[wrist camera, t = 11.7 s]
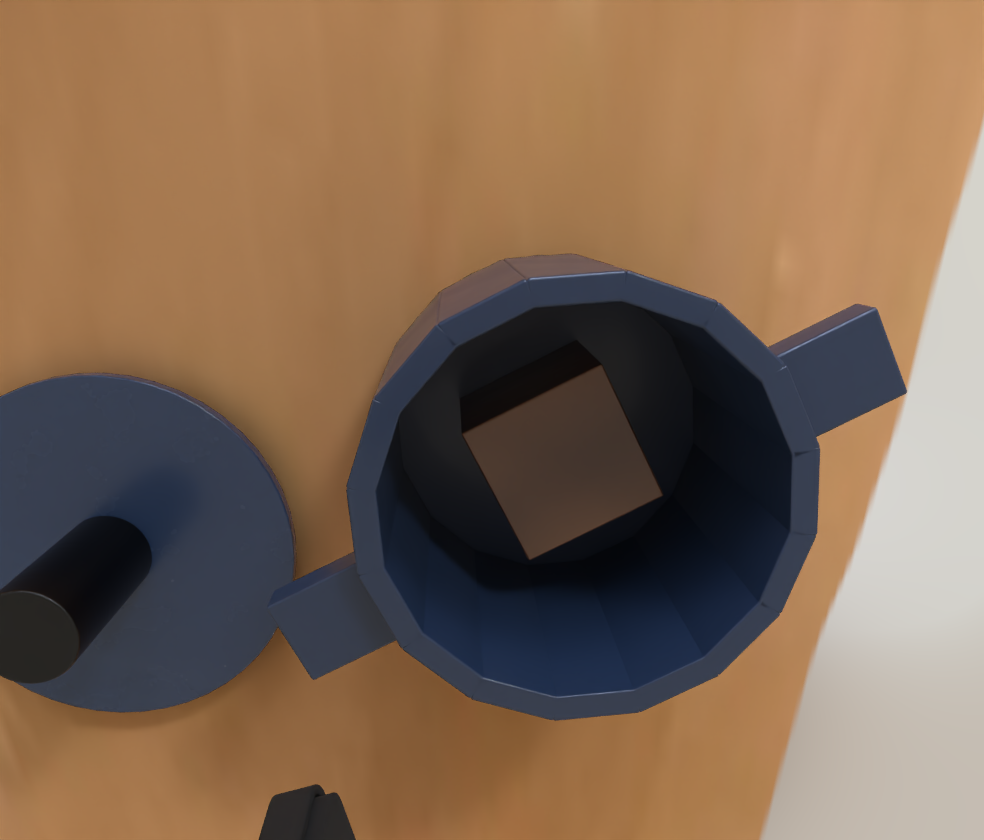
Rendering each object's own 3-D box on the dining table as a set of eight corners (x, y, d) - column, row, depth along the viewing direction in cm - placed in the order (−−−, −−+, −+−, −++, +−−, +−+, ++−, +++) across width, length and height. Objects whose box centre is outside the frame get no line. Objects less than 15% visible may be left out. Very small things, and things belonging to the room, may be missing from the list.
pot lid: (-137, 470, 26) (-323, 551, 20) (178, 304, 26) (89, 334, 19) (74, 746, 29) (-29, 893, 23) (362, 605, 29) (337, 717, 22)
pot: (247, 388, 26) (156, 466, 18) (704, 153, 25) (827, 124, 17) (408, 656, 29) (392, 828, 21) (826, 455, 28) (981, 554, 20)
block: (458, 398, 26) (460, 433, 22) (577, 338, 26) (602, 363, 22) (516, 508, 28) (529, 561, 23) (631, 451, 27) (664, 496, 23)
